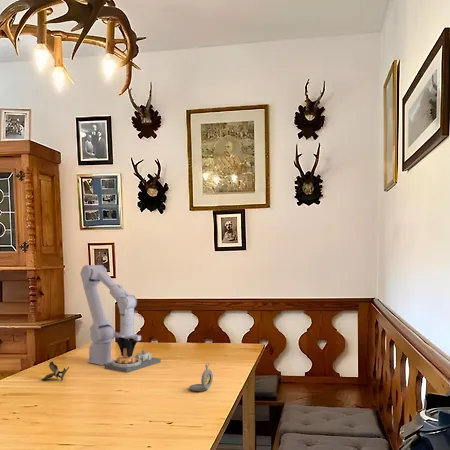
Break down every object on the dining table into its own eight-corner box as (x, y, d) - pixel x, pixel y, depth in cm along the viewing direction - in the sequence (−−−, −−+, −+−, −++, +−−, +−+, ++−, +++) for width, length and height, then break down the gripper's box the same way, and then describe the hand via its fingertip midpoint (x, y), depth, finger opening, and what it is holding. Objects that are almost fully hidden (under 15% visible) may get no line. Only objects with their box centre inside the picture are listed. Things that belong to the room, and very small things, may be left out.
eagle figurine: (70, 373, 182) (50, 368, 184) (68, 361, 179) (48, 355, 180) (60, 388, 176) (39, 383, 178) (57, 376, 172) (36, 370, 174)
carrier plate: (104, 368, 195) (104, 356, 195) (139, 358, 213) (139, 347, 213) (126, 372, 188) (126, 360, 188) (160, 362, 206) (160, 350, 206)
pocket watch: (189, 387, 168) (189, 359, 169) (212, 386, 169) (212, 358, 169) (189, 394, 160) (189, 364, 161) (213, 393, 161) (213, 364, 161)
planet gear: (112, 361, 196) (112, 348, 196) (126, 358, 203) (126, 346, 203) (126, 364, 191) (127, 350, 192) (140, 361, 198) (140, 348, 199)
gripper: (108, 323, 199) (107, 355, 198) (132, 326, 191) (132, 359, 190) (120, 321, 204) (120, 352, 204) (144, 324, 197) (144, 356, 196)
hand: (126, 355), depth 197 cm, fingers closed on planet gear, 3 cm apart
